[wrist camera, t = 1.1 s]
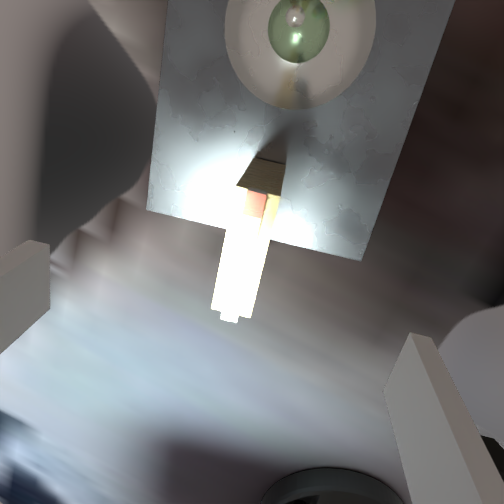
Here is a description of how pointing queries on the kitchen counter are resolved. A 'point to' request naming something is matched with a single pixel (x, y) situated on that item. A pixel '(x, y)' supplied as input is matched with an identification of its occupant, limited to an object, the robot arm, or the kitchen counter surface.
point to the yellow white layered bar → (247, 238)
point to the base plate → (287, 137)
